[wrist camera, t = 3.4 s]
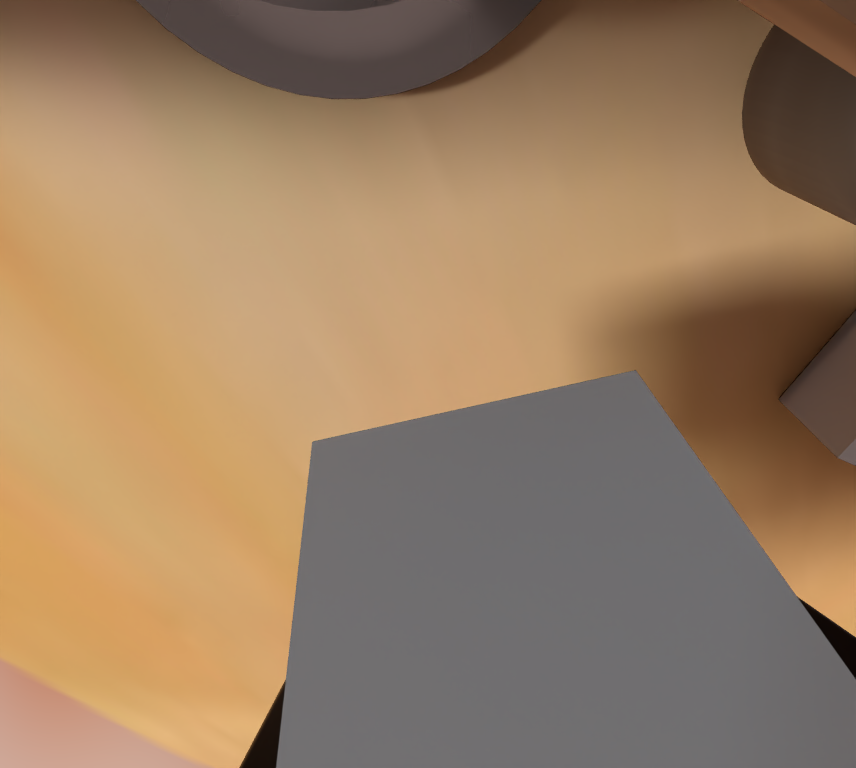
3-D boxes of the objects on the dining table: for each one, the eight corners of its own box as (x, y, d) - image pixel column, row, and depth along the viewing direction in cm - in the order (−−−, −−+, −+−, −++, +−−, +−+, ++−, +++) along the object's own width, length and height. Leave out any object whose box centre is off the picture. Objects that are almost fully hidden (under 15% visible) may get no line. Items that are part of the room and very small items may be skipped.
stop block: (635, 369, 9) (1206, 1174, 3) (645, 590, 11) (968, 1282, 5) (312, 441, 9) (213, 1342, 3) (389, 644, 11) (418, 1374, 5)
